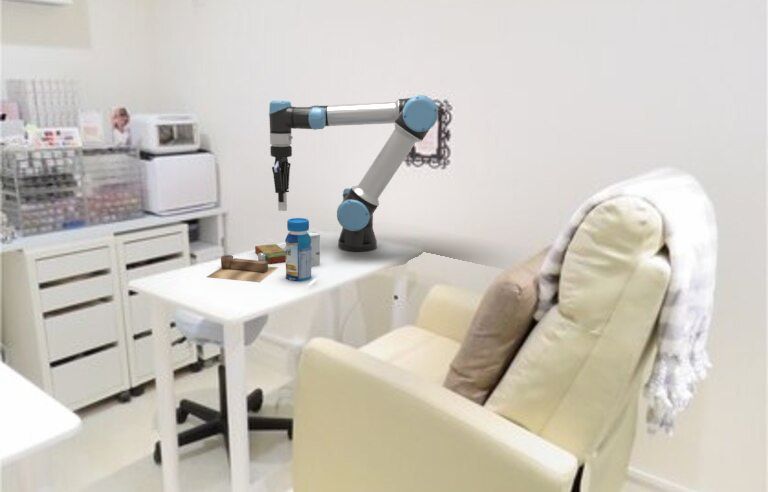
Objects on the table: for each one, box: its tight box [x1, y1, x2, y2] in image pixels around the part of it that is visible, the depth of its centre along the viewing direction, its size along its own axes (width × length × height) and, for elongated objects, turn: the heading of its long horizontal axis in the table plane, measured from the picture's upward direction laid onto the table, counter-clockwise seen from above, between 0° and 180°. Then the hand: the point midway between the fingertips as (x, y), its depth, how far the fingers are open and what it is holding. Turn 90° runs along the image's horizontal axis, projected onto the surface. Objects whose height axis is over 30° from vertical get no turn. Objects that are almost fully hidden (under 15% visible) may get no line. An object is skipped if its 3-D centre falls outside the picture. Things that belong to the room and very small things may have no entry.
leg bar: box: [220, 253, 269, 272], centre depth 194 cm, size 16×4×4 cm, turn 76°
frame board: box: [206, 266, 279, 283], centre depth 192 cm, size 18×16×1 cm
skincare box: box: [308, 231, 321, 268], centre depth 201 cm, size 6×4×12 cm
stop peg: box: [257, 253, 266, 261], centre depth 196 cm, size 2×2×5 cm
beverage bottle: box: [284, 217, 313, 282], centre depth 186 cm, size 8×8×20 cm
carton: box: [254, 243, 286, 265], centre depth 209 cm, size 8×16×4 cm, turn 29°
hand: (282, 210), depth 215 cm, fingers closed
